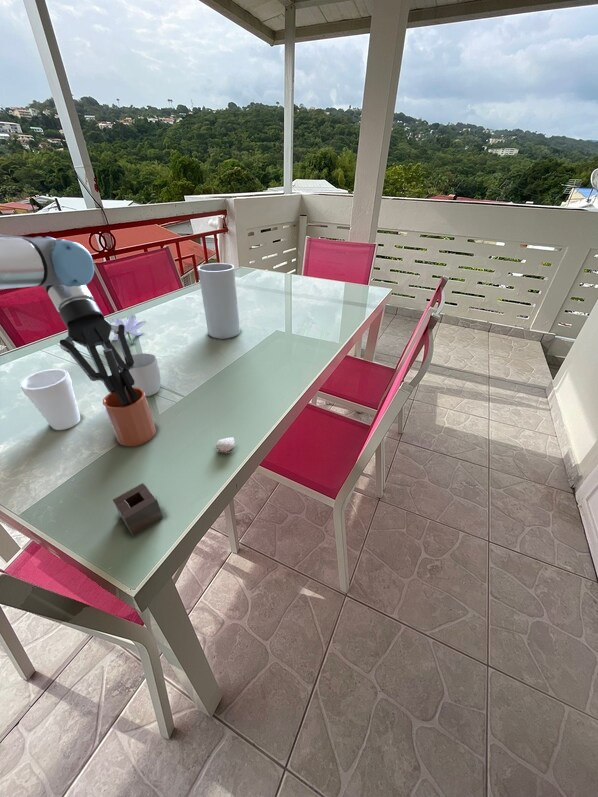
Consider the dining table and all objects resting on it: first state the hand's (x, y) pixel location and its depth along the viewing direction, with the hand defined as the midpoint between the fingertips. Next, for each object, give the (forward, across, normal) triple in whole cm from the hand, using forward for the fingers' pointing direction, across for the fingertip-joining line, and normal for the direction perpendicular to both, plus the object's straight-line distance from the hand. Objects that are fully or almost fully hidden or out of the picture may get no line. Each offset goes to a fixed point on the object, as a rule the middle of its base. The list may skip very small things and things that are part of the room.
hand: (130, 401), depth 71 cm
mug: (-7, -12, -24) cm, 28 cm away
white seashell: (+19, -13, +2) cm, 23 cm away
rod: (+2, 0, -8) cm, 8 cm away
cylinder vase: (-20, -50, -37) cm, 66 cm away
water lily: (-33, -21, -50) cm, 64 cm away
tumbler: (+6, 0, -11) cm, 12 cm away
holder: (+22, +9, +6) cm, 25 cm away
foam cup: (-6, +11, -23) cm, 26 cm away
